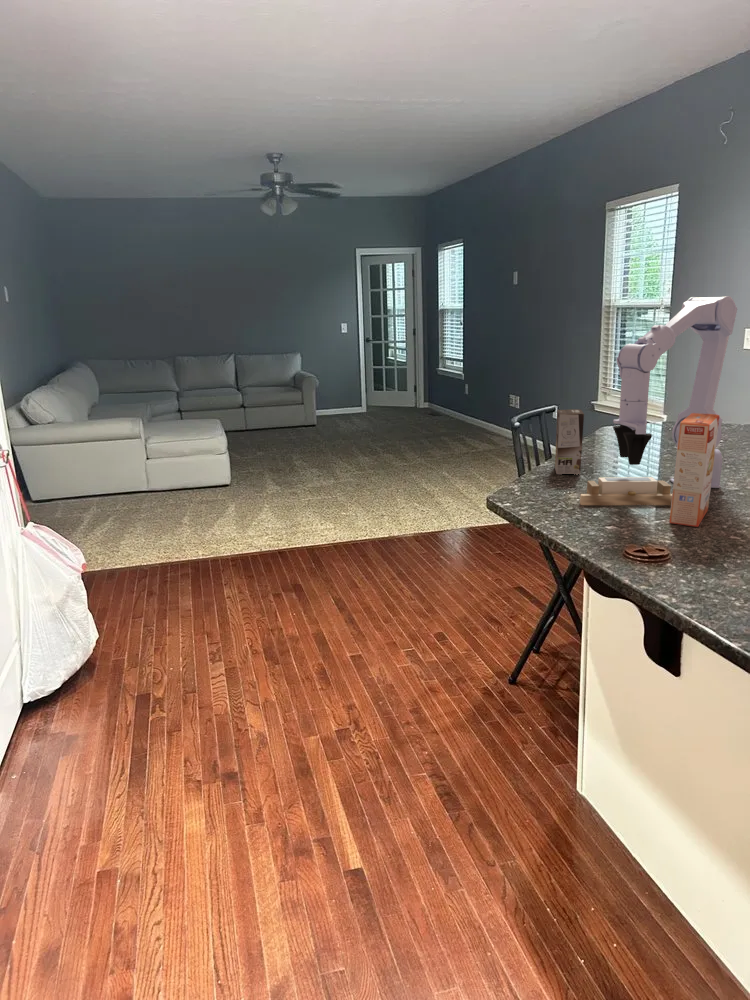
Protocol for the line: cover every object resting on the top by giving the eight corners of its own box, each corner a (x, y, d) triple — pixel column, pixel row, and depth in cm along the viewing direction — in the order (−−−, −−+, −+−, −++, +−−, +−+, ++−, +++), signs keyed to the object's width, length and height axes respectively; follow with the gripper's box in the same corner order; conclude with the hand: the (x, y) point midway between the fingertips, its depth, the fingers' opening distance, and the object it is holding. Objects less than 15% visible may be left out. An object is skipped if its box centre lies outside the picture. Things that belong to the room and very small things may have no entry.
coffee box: (581, 475, 183) (584, 413, 179) (555, 474, 185) (558, 413, 180) (578, 467, 192) (581, 408, 188) (554, 467, 193) (557, 408, 189)
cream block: (650, 498, 162) (652, 476, 160) (655, 502, 158) (657, 480, 156) (597, 498, 162) (598, 477, 161) (601, 503, 159) (602, 481, 157)
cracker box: (700, 528, 139) (711, 423, 133) (668, 524, 142) (677, 421, 136) (710, 510, 150) (721, 413, 145) (680, 507, 153) (689, 411, 148)
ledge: (673, 497, 161) (675, 480, 160) (683, 505, 155) (684, 487, 154) (575, 497, 163) (576, 480, 162) (581, 505, 156) (582, 487, 155)
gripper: (607, 396, 161) (603, 454, 165) (623, 404, 147) (619, 468, 151) (639, 395, 161) (634, 453, 164) (658, 404, 147) (653, 467, 150)
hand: (629, 460), depth 158 cm, fingers open, 7 cm apart
